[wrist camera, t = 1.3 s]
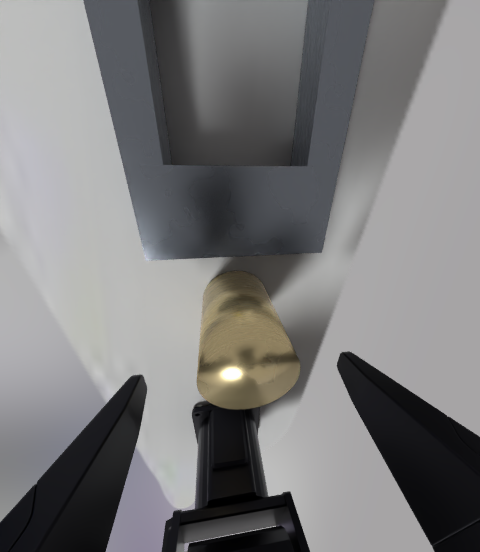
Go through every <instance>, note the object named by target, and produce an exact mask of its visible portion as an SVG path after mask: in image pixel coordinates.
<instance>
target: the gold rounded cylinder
mask: <svg viewBox="0 0 480 552" xmlns="http://www.w3.org/2000/svg"><path fill="white" fill-rule="evenodd" d="M299 374H300V362H299V359H298V357H297V355H296V353H295V351H294V348H293V346H292V344H291V342H290V340H289V338H288V336H287V334H286V332H285V330H284V327H283V325H282V323H281V321H280V319H279V317H278V315H277V313H276V311H275V309H274V307H273V304H272V302H271V300H270V298H269V296H268V294H267V292H266V290H265V288H264V286H263V284H262V282H261V281H260V280H259V279H258V278H257V277H255V276H254V275H252V274H250V273H247V272H243V271H230V272H226V273H223V274H221V275H219V276H217V277H216V278H214V279H213V280H212V281H211V282H210V283H209V284H208V286H207V287H206V289H205V291H204V295H203V306H202V319H201V332H200V345H199V358H198V371H197V387H198V390H199V392H200V394H201V395H202V396H203V398H205V399H206V400H207V401H208V402H210V403H212V404H214V405H216V406H219V407H222V408H226V409H237V410H238V409H250V408H256V407H260V406H263V405H266V404H268V403H271V402H273V401H275V400H277V399H279V398H280V397H282V396H283V395H284V394H286V393H287V392H288V391H289V390H290V389H291V388H292V387H293V386H294V384H295V383H296V381H297V379H298V377H299Z"/></svg>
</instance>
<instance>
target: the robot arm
mask: <svg viewBox="0 0 480 552" xmlns="http://www.w3.org/2000/svg"><path fill="white" fill-rule="evenodd" d="M337 368H338V371H339V373H340V375H341V377H342V380H343V382H344V384H345V387H346V388H347V391H348V393H349V396H350V398H351V400H352V402H353V404H354V405H355V408H356V409H357V411H358V413H359V415H360V417H361V419H362V420H363V422H364V424H365V426H366V428H367V429H368V431H369V433H370V435H371V437H372V439H373V440H374V442H375V444H376V446H377V448H378V449H379V451H380V453H381V455H382V457H383V459H384V460H385V462H386V464H387V466H388V468H389V469H390V471H391V473H392V475H393V477H394V478H395V480H396V482H397V484H398V486H399V487H400V489H401V491H402V493H403V494H404V497H405V498H406V500H407V502H408V504H409V506H410V508H411V509H412V511H413V513H414V515H415V517H416V518H417V520H418V522H419V524H420V526H421V527H422V529H423V531H424V533H425V535H426V537H427V538H428V540H429V542H430V544H431V545H432V547H433V549H434V551H435V552H480V437H479V436H478V435H476V434H474V433H473V432H472V431H470V430H468V429H466V428H465V427H464V426H462V425H461V424H459V423H458V422H456V421H455V420H453V419H452V418H450V417H447V415H445V414H444V413H442V412H441V411H439V410H438V409H436V408H435V407H433V406H432V405H430V404H429V403H427V402H426V401H424V400H423V399H421V398H420V397H418V396H417V395H415V394H414V393H412V392H410V391H409V390H408V389H406V388H404V387H403V386H402V385H400V384H399V383H397V382H395V381H394V380H393V379H391V378H389V377H388V376H386V375H385V374H383V373H382V372H380V371H379V370H377V369H376V368H374V367H373V366H371V365H370V364H368V363H367V362H365V361H364V360H362V359H360V358H359V357H358V356H356V355H354V354H353V353H351V352H342V353H341V354H340V357H339V360H338V362H337ZM146 394H147V385H146V383H145V380H144V377H143V375H133V376H131V377H130V378H129V379H128V380H127V381H126V382H125V384H124V385H123V386H122V387H121V388H120V389H119V390H118V391H117V393H116V394H115V395H114V396H113V397H112V398H111V399H110V400H109V402H108V403H107V404H106V405H105V406H104V407H103V408H102V409H101V411H100V412H99V413H98V414H97V415H96V416H95V417H94V419H93V420H92V421H91V422H90V423H89V424H88V425H87V426H86V428H84V430H83V431H82V432H81V433H80V434H79V435H78V436H77V437H76V439H75V440H74V441H73V442H72V443H71V444H70V446H68V448H67V449H66V450H65V451H64V452H63V453H62V455H60V457H59V458H58V459H57V460H56V461H55V462H54V463H53V464H52V466H51V467H50V468H49V469H48V470H47V471H46V472H45V473H44V474H43V476H42V477H41V478H40V479H39V480H38V482H37V484H35V485H34V486H33V487H32V488H31V489H30V490H29V491H28V492H27V493H26V495H25V496H24V497H23V498H22V499H21V500H20V501H19V502H18V504H17V505H16V506H15V507H14V508H13V509H12V510H11V511H10V512H9V513H8V514H7V515H6V517H5V518H4V519H3V520H2V521H1V522H0V552H105V551H106V548H107V544H108V541H109V537H110V534H111V530H112V527H113V523H114V520H115V516H116V513H117V509H118V506H119V502H120V499H121V495H122V492H123V488H124V485H125V481H126V478H127V474H128V471H129V467H130V464H131V460H132V457H133V453H134V450H135V446H136V443H137V439H138V435H139V431H140V426H141V421H142V415H143V410H144V405H145V399H146ZM259 412H260V407H256V408H250V409H238V410H237V409H226V408H222V407H219V406H216V405H211V406H203V407H196V408H194V409H193V410H192V418H193V423H194V428H195V433H196V438H197V443H198V458H197V477H196V496H195V509H194V510H188V511H182V510H177V511H174V512H173V517H172V518H171V519H169V520H167V521H166V525H165V532H164V539H163V547H162V552H184V543H188V542H194V541H198V540H204V539H209V538H214V537H219V536H224V535H230V534H235V533H240V532H245V531H250V530H255V529H260V528H266V527H270V526H276V527H271V528H266V529H261V530H256V531H251V532H245V533H240V534H235V535H230V536H225V537H220V538H215V539H210V540H205V541H199V542H194V543H190V544H189V546H188V551H187V552H310V550H309V547H308V544H307V541H306V538H305V535H304V532H303V529H302V526H301V523H300V520H299V517H298V514H297V511H296V508H295V505H294V502H293V499H292V496H291V493H290V492H283V494H281V495H276V496H270V497H268V492H267V487H266V482H265V476H264V470H263V464H262V458H261V453H260V447H259V441H258V436H257V435H258V424H259Z"/></svg>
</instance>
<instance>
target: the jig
mask: <svg viewBox="0 0 480 552" xmlns="http://www.w3.org/2000/svg"><path fill="white" fill-rule="evenodd" d="M373 4H374V0H308V9H307V19H306V28H305V38H304V47H303V56H302V66H301V75H300V84H299V94H298V103H297V113H296V122H295V131H294V141H293V150H292V160H291V166H213V165H172V161H171V154H170V146H169V139H168V132H167V125H166V118H165V110H164V103H163V96H162V89H161V81H160V74H159V67H158V60H157V53H156V45H155V38H154V31H153V24H152V17H151V9H150V2H149V0H84V5H85V9H86V13H87V17H88V21H89V25H90V30H91V34H92V38H93V42H94V46H95V50H96V55H97V59H98V63H99V67H100V71H101V75H102V80H103V84H104V88H105V92H106V96H107V100H108V105H109V109H110V113H111V117H112V121H113V125H114V130H115V134H116V138H117V142H118V146H119V150H120V155H121V159H122V163H123V167H124V171H125V175H126V180H127V184H128V188H129V192H130V196H131V200H132V205H133V209H134V213H135V217H136V221H137V225H138V230H139V234H140V238H141V242H142V246H143V250H144V255H145V259H146V260H168V259H190V258H212V257H234V256H256V255H277V254H299V253H321V252H322V249H323V244H324V240H325V235H326V230H327V225H328V220H329V215H330V211H331V206H332V201H333V196H334V191H335V187H336V182H337V177H338V172H339V167H340V163H341V158H342V153H343V148H344V143H345V139H346V134H347V129H348V124H349V119H350V114H351V110H352V105H353V100H354V95H355V90H356V86H357V81H358V76H359V71H360V66H361V62H362V57H363V52H364V47H365V42H366V37H367V33H368V28H369V23H370V18H371V13H372V9H373Z"/></svg>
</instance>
